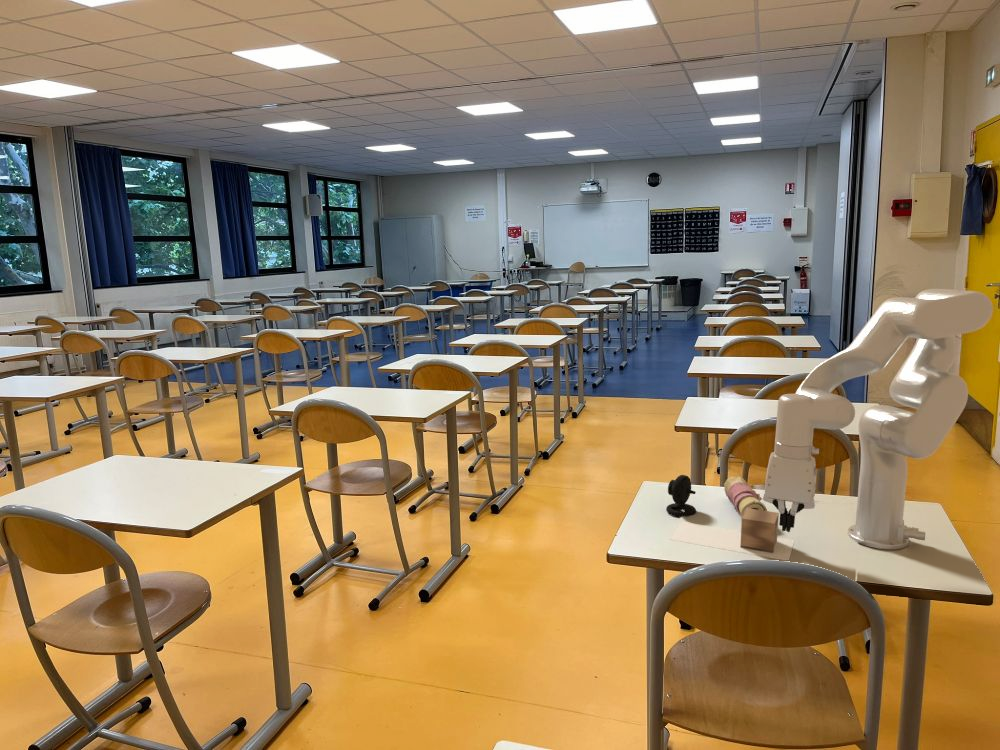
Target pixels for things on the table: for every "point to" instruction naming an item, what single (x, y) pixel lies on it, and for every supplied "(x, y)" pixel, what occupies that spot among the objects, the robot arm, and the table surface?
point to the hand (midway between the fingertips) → (786, 529)
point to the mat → (727, 540)
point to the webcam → (680, 496)
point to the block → (759, 530)
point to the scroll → (742, 495)
